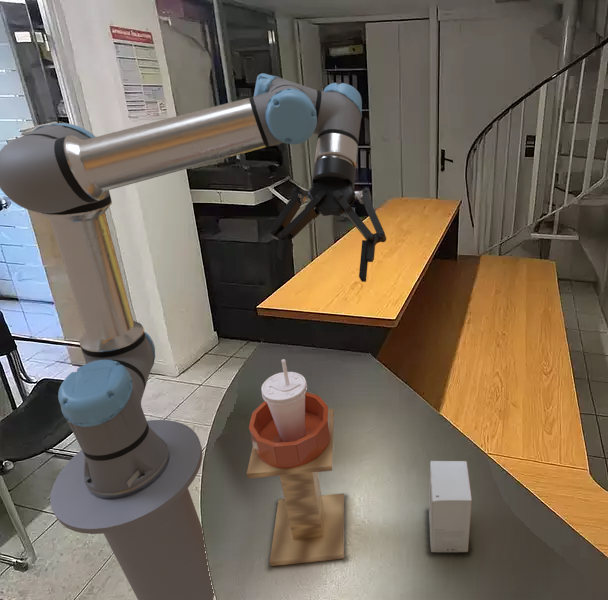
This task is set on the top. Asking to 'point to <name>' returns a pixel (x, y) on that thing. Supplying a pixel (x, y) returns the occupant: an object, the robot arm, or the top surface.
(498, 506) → the top surface
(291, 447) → the bowl
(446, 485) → the small box
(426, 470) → the top surface
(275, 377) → the smoothie
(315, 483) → the pedestal
